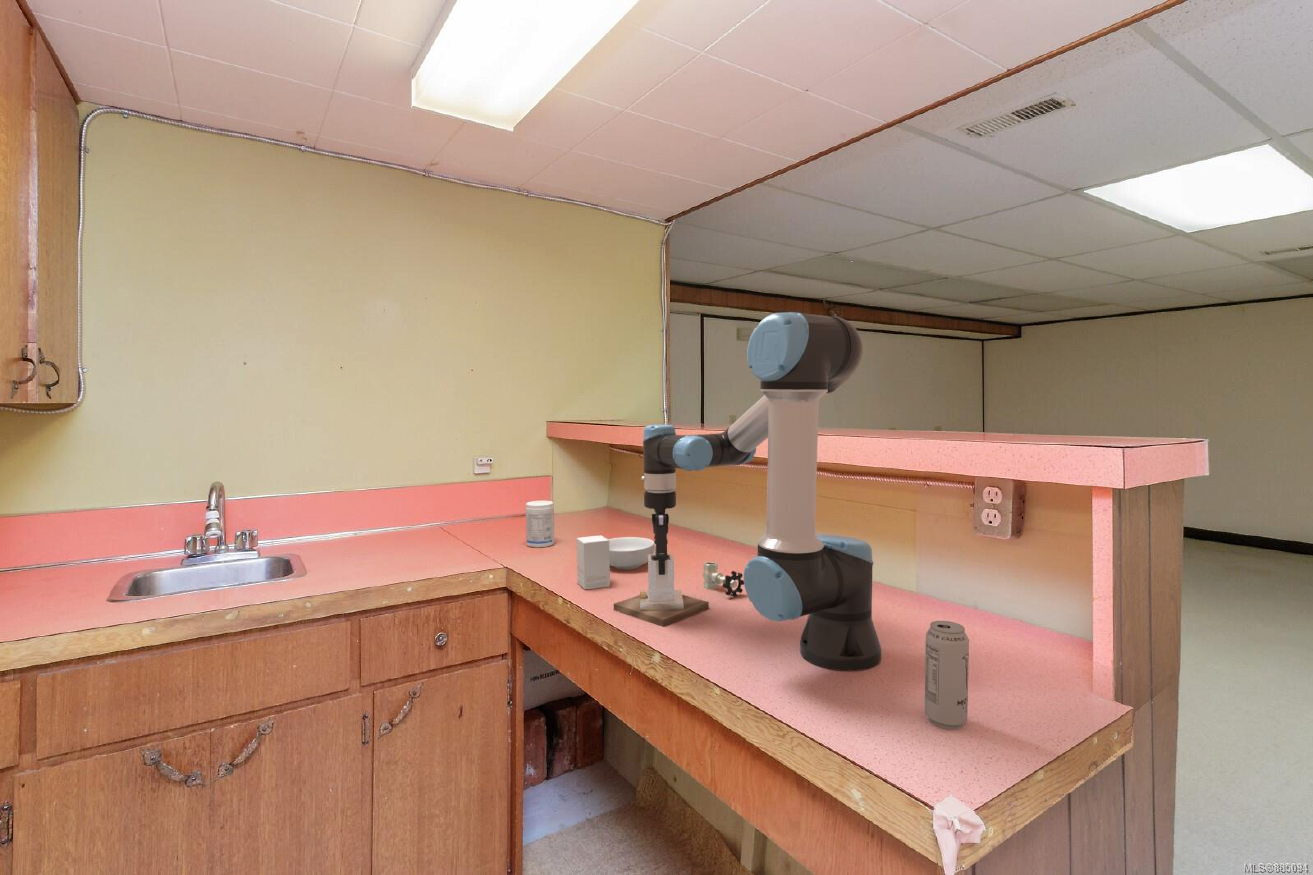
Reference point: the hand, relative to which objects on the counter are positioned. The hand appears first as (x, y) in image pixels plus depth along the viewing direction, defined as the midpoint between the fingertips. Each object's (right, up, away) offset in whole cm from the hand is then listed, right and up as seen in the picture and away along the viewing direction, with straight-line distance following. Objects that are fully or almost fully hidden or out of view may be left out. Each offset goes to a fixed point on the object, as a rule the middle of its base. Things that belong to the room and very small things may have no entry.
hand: (660, 579), depth 150 cm
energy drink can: (+44, -10, -52) cm, 69 cm away
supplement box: (-18, -6, +21) cm, 28 cm away
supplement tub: (-41, -4, +67) cm, 79 cm away
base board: (0, -7, 0) cm, 7 cm away
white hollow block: (0, -6, 0) cm, 6 cm away
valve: (+15, -7, +14) cm, 22 cm away
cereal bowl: (-10, -5, +39) cm, 41 cm away
